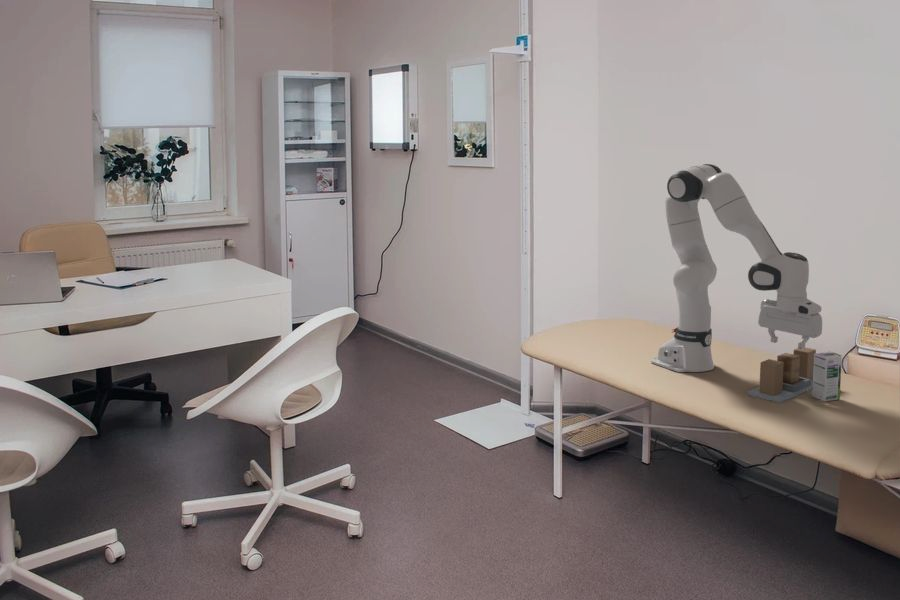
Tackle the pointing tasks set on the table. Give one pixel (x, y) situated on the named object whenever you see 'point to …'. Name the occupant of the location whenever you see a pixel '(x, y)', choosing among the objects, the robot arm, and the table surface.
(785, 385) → the grey base with blocks
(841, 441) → the table surface
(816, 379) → the syrup box
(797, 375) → the block
